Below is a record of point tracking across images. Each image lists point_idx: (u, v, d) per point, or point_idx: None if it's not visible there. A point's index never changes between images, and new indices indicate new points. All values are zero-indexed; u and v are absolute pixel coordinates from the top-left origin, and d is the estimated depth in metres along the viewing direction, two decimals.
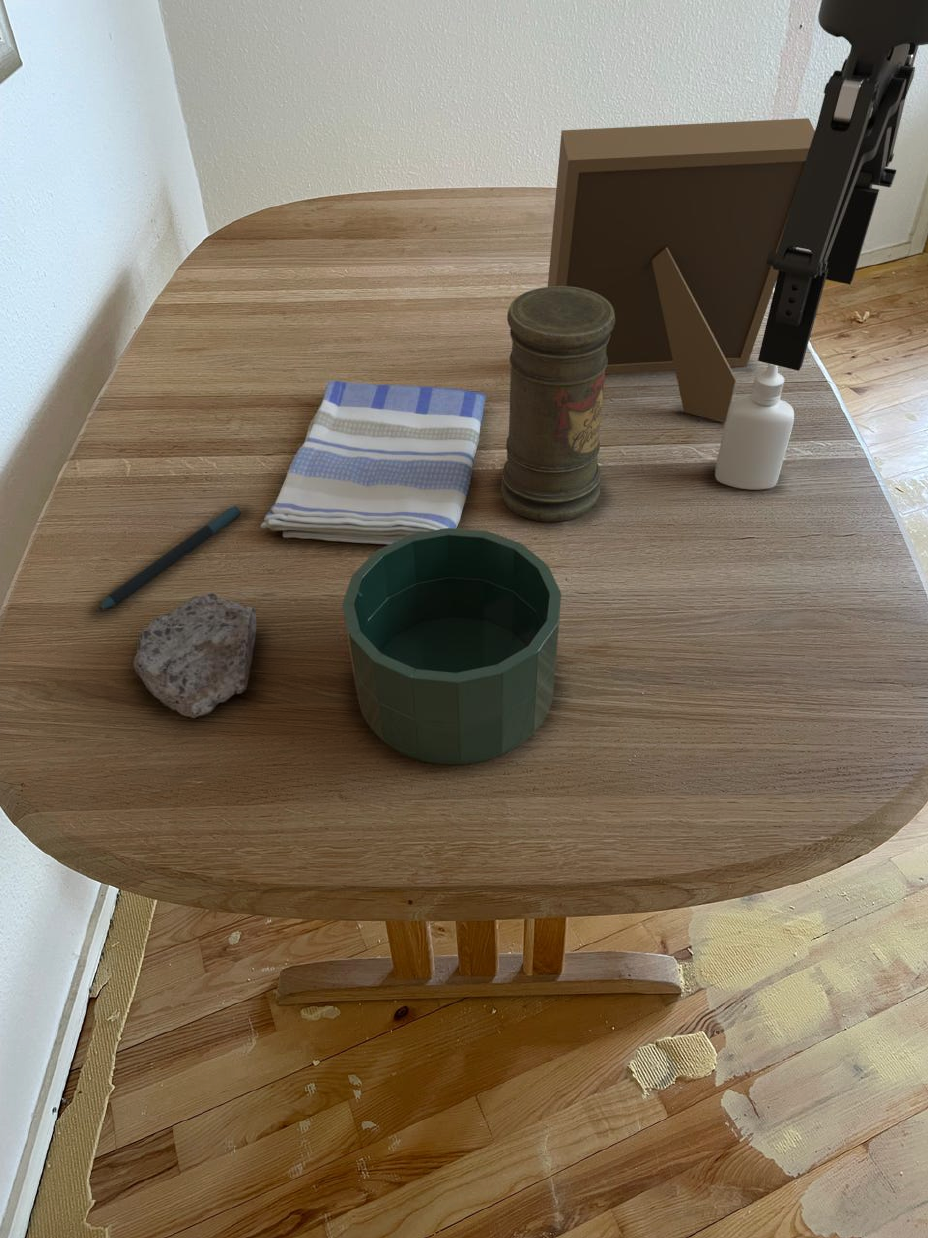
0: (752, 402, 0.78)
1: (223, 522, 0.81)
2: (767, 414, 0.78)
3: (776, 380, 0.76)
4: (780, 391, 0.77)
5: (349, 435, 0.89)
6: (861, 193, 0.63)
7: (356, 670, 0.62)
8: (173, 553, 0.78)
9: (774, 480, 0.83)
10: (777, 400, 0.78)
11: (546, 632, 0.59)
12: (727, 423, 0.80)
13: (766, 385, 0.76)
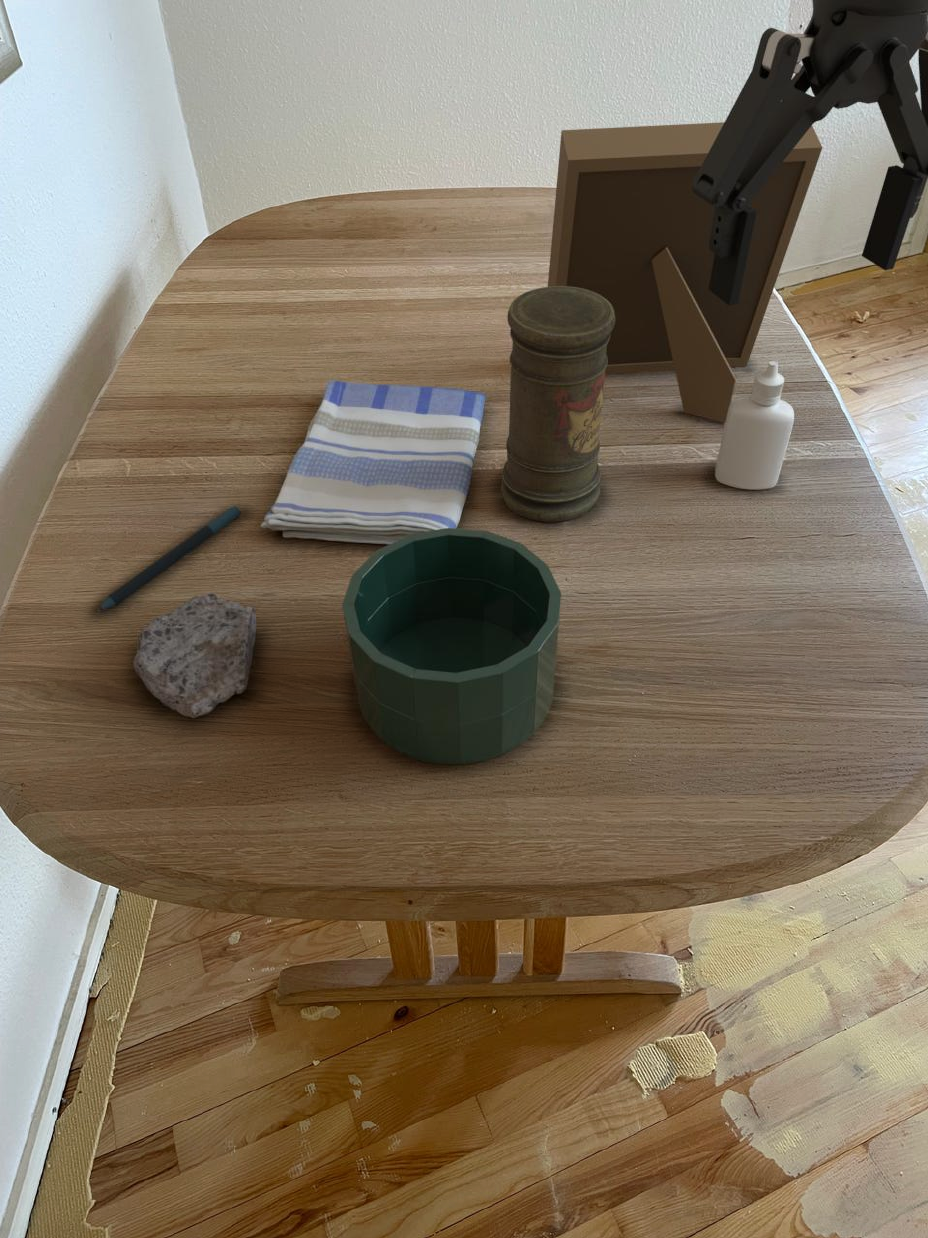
0: (752, 402, 0.78)
1: (223, 522, 0.81)
2: (767, 414, 0.78)
3: (776, 380, 0.76)
4: (780, 391, 0.77)
5: (349, 435, 0.89)
6: (903, 177, 0.64)
7: (356, 670, 0.62)
8: (172, 553, 0.78)
9: (774, 480, 0.83)
10: (777, 400, 0.78)
11: (546, 632, 0.59)
12: (727, 423, 0.80)
13: (766, 385, 0.76)
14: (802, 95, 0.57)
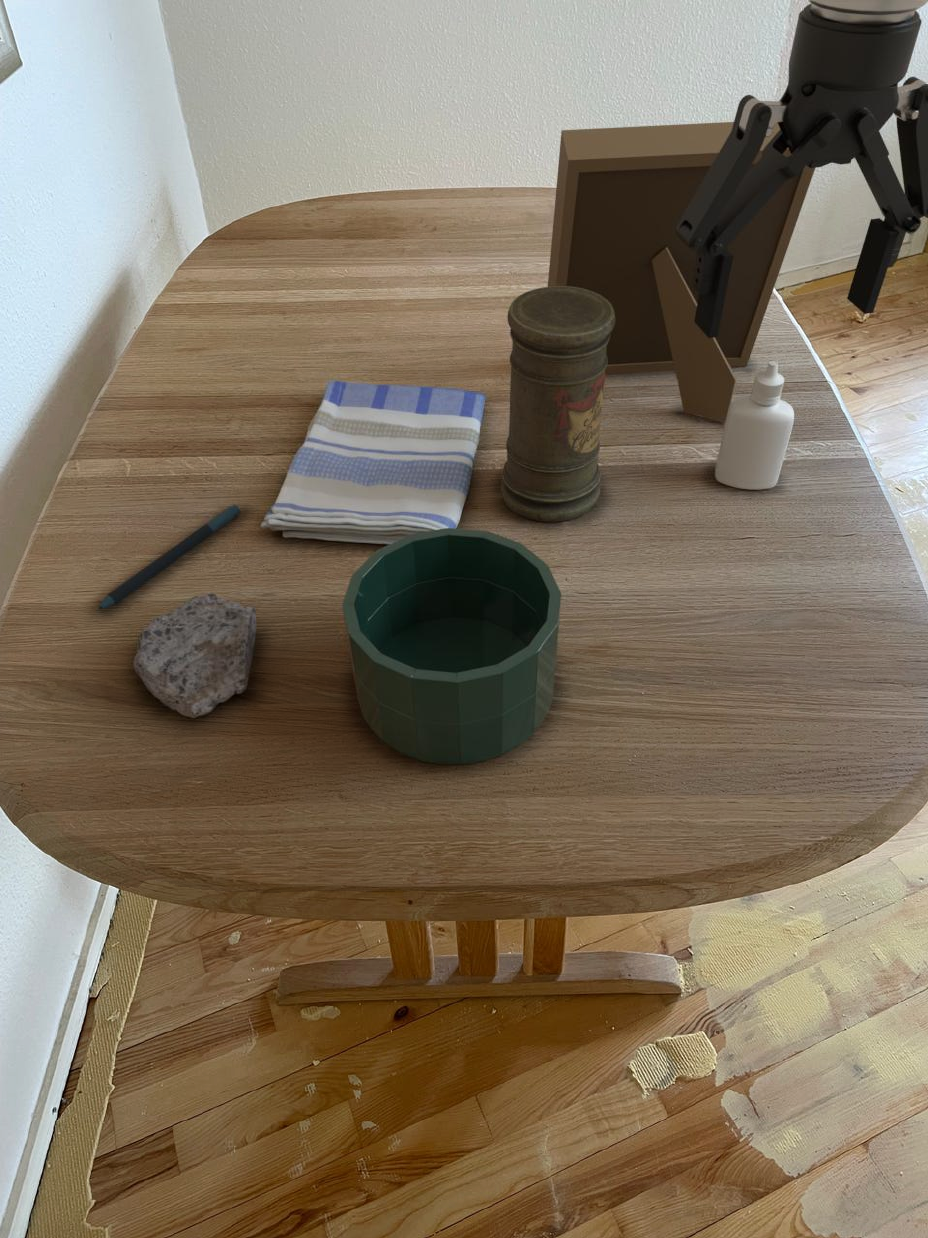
0: (752, 402, 0.78)
1: (222, 521, 0.81)
2: (767, 414, 0.78)
3: (776, 380, 0.76)
4: (780, 391, 0.77)
5: (349, 435, 0.89)
6: (882, 230, 0.70)
7: (356, 670, 0.62)
8: (172, 552, 0.78)
9: (774, 480, 0.83)
10: (777, 400, 0.78)
11: (546, 632, 0.59)
12: (727, 423, 0.80)
13: (766, 385, 0.76)
14: (777, 155, 0.63)
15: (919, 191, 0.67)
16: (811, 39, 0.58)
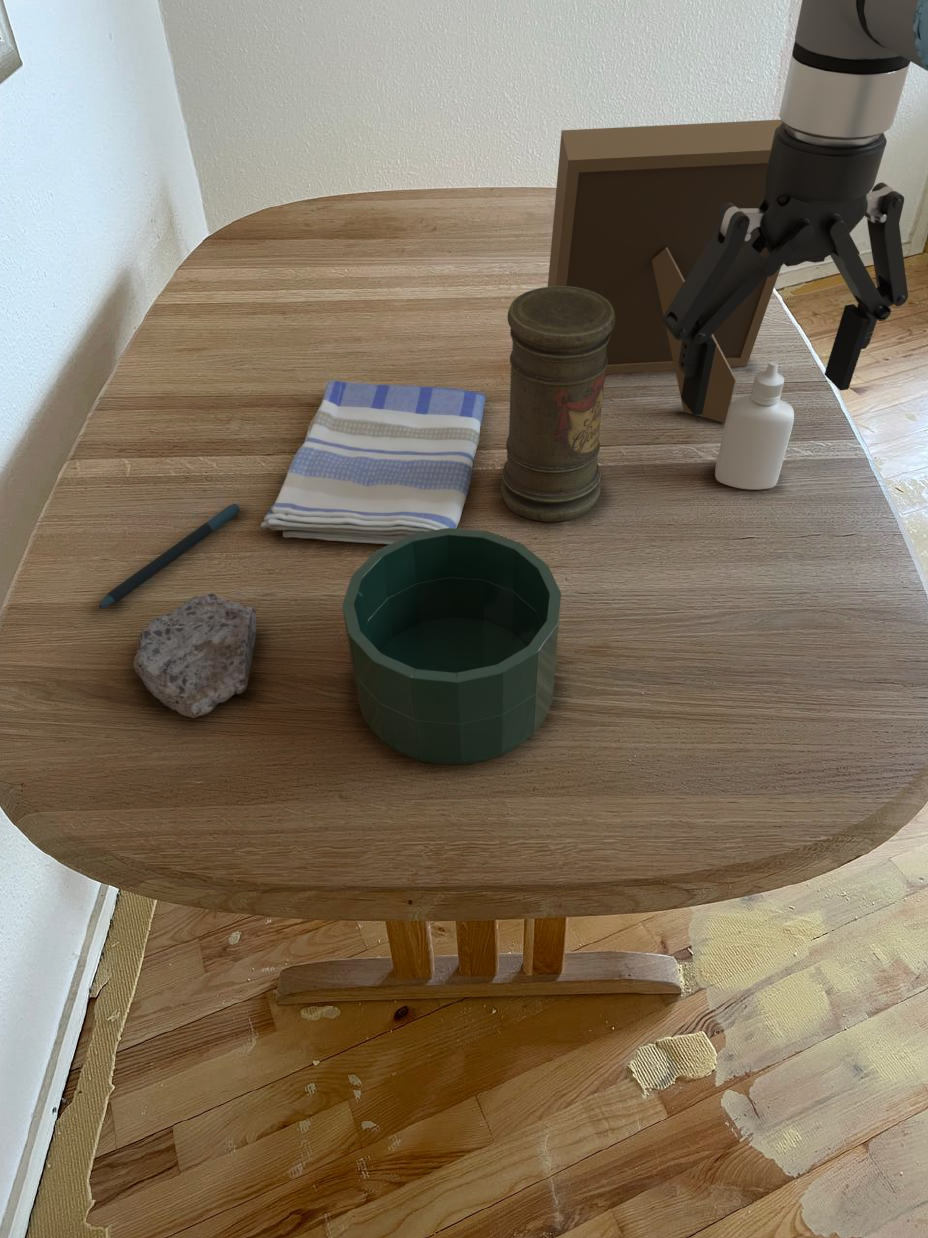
0: (752, 402, 0.78)
1: (222, 520, 0.81)
2: (767, 414, 0.78)
3: (776, 380, 0.76)
4: (780, 391, 0.77)
5: (349, 435, 0.89)
6: (855, 317, 0.75)
7: (356, 670, 0.62)
8: (172, 551, 0.78)
9: (774, 480, 0.83)
10: (777, 400, 0.78)
11: (546, 632, 0.59)
12: (727, 423, 0.80)
13: (766, 385, 0.76)
14: (756, 254, 0.69)
15: (889, 283, 0.72)
16: (785, 157, 0.63)
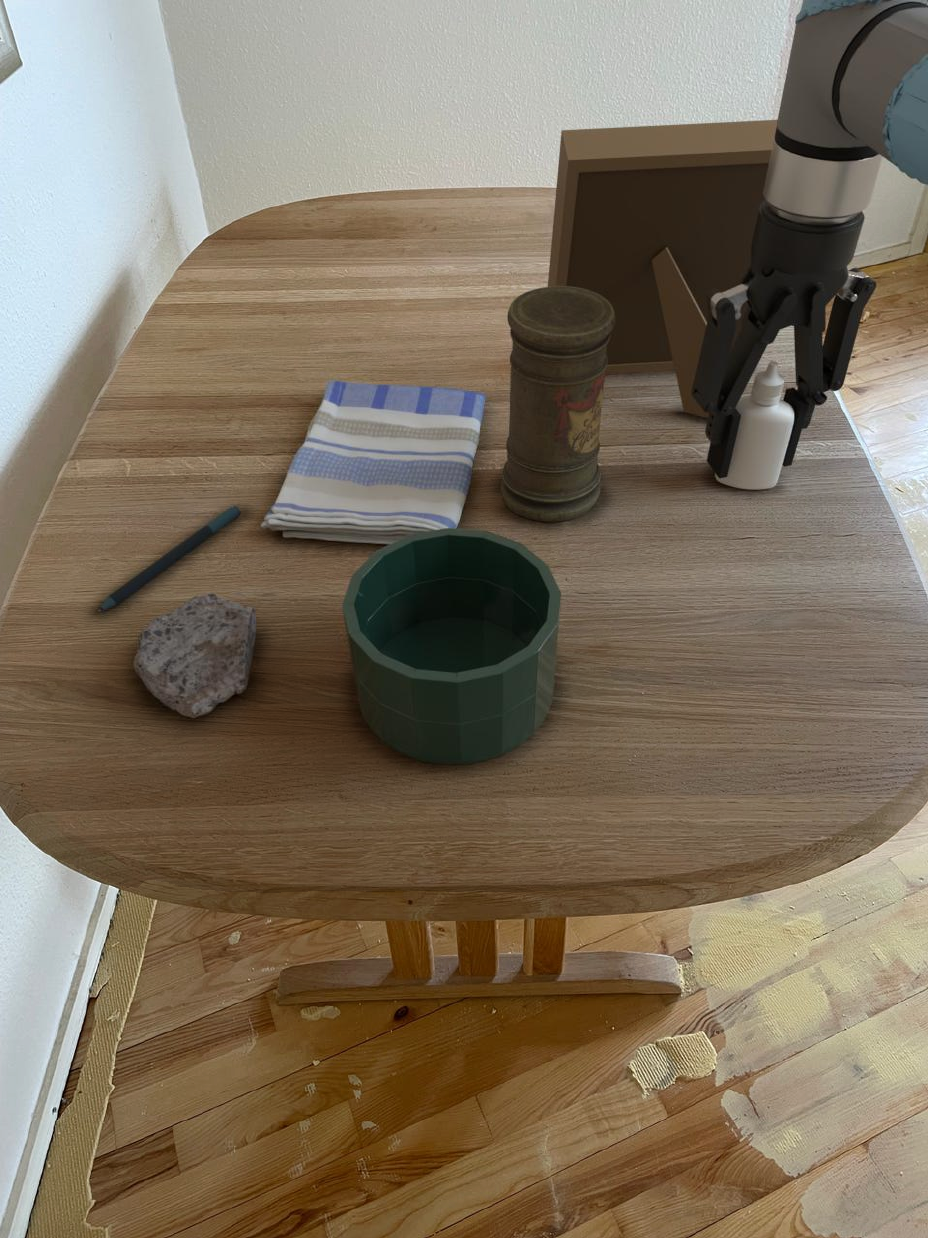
0: (752, 402, 0.78)
1: (223, 522, 0.81)
2: (767, 414, 0.78)
3: (776, 380, 0.76)
4: (780, 391, 0.77)
5: (349, 435, 0.89)
6: (795, 400, 0.79)
7: (356, 670, 0.62)
8: (173, 553, 0.78)
9: (774, 480, 0.83)
10: (777, 400, 0.78)
11: (546, 632, 0.59)
12: None
13: (766, 385, 0.76)
14: (753, 328, 0.73)
15: (833, 365, 0.77)
16: (769, 233, 0.67)
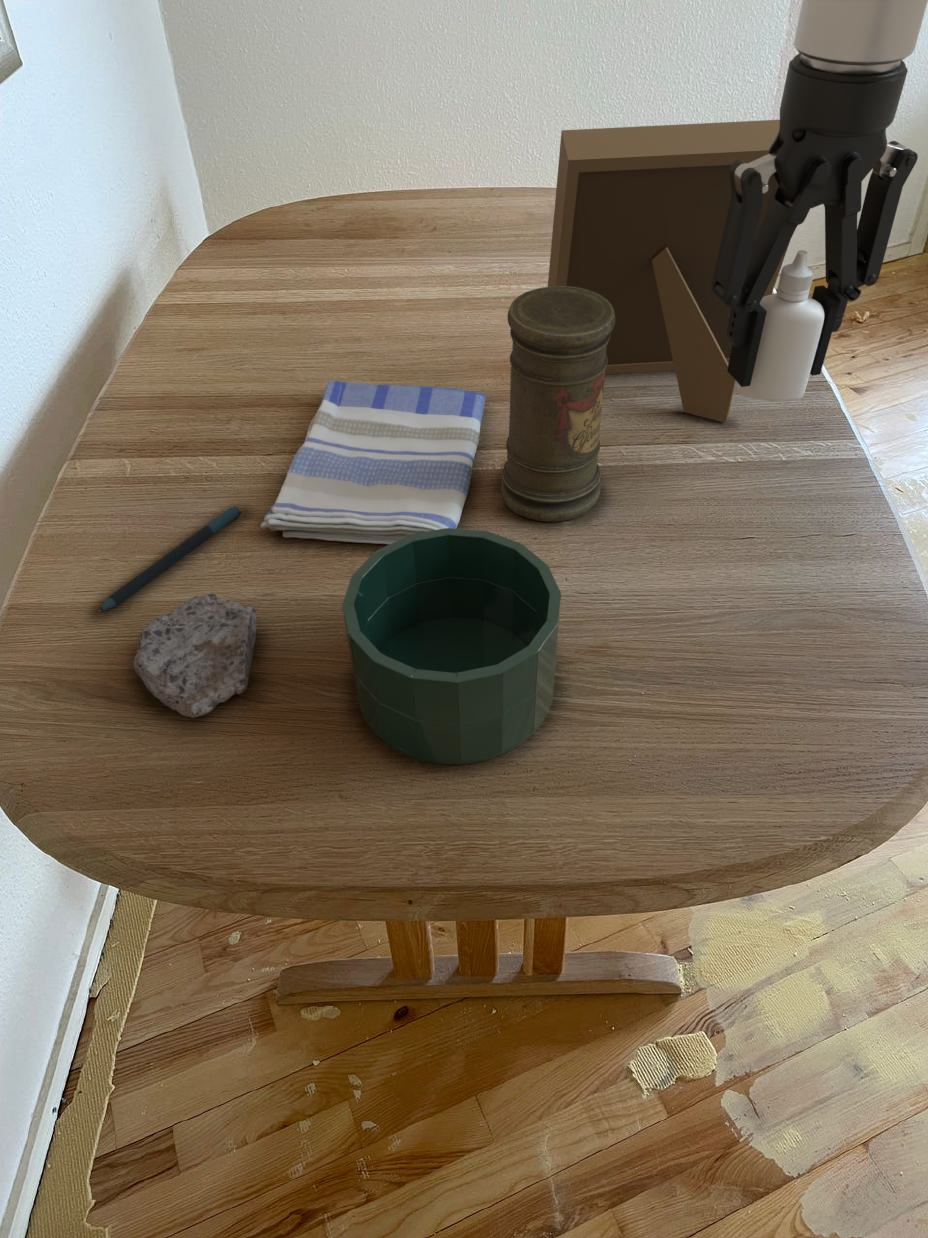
0: (778, 299, 0.72)
1: (223, 522, 0.81)
2: (795, 310, 0.71)
3: (805, 271, 0.70)
4: (809, 284, 0.70)
5: (349, 435, 0.89)
6: (825, 298, 0.72)
7: (356, 670, 0.62)
8: (173, 554, 0.78)
9: (801, 390, 0.76)
10: (806, 295, 0.71)
11: (546, 632, 0.59)
12: None
13: (795, 277, 0.69)
14: (781, 207, 0.66)
15: (868, 255, 0.70)
16: (801, 88, 0.60)
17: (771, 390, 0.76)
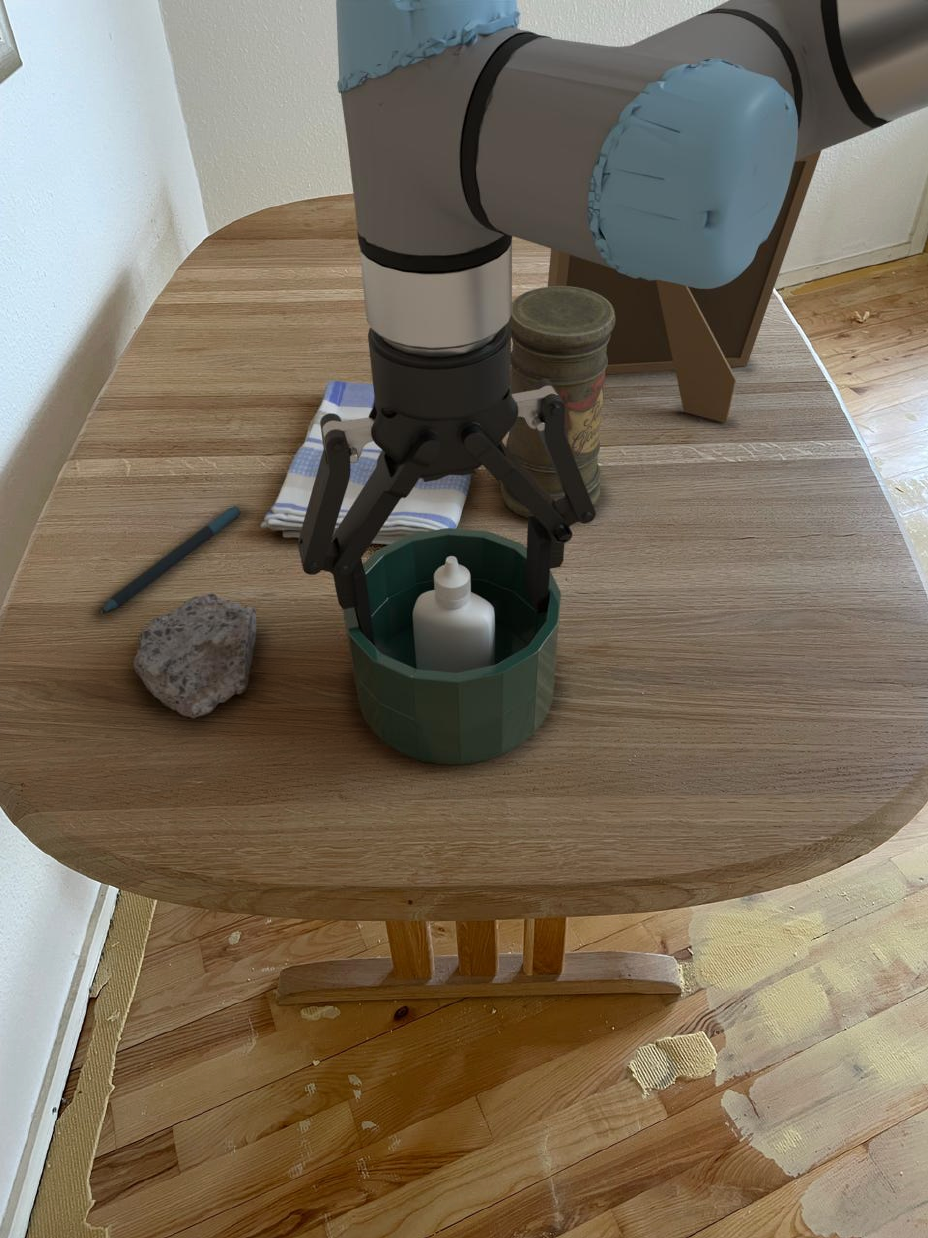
0: (436, 602, 0.62)
1: (223, 523, 0.81)
2: (453, 618, 0.61)
3: (456, 580, 0.59)
4: (465, 592, 0.60)
5: None
6: (535, 535, 0.59)
7: (356, 670, 0.62)
8: (174, 554, 0.78)
9: None
10: (464, 602, 0.61)
11: (546, 632, 0.59)
12: (413, 623, 0.63)
13: (444, 587, 0.59)
14: (385, 471, 0.53)
15: (568, 497, 0.57)
16: (375, 363, 0.47)
17: None
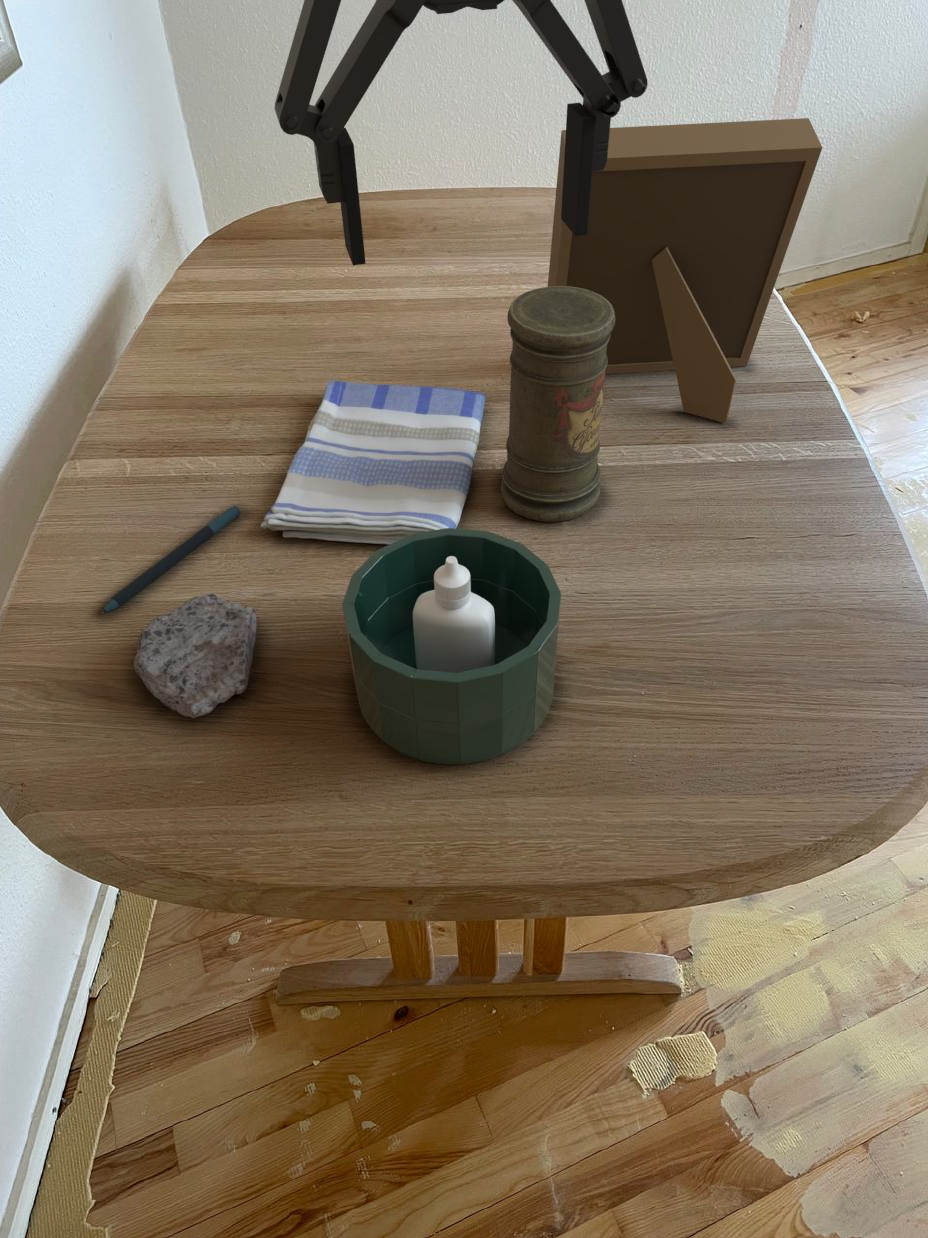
0: (436, 602, 0.62)
1: (223, 522, 0.81)
2: (453, 618, 0.61)
3: (456, 580, 0.59)
4: (465, 592, 0.60)
5: (349, 435, 0.89)
6: (577, 116, 0.51)
7: (356, 670, 0.62)
8: (174, 554, 0.78)
9: None
10: (464, 602, 0.61)
11: (546, 632, 0.59)
12: (413, 623, 0.63)
13: (444, 587, 0.59)
14: None
15: (614, 57, 0.49)
16: None
17: None
